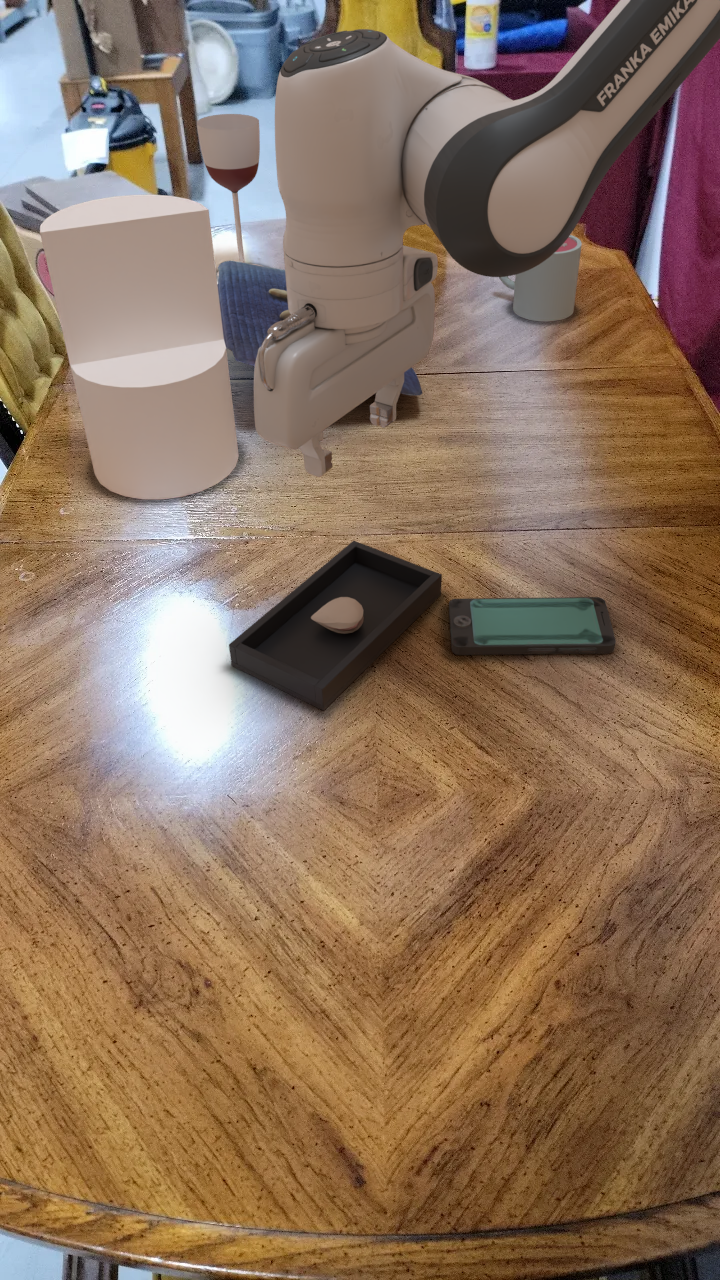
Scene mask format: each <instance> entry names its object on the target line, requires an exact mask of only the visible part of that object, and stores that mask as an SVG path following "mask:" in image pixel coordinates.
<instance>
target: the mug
mask: <svg viewBox="0 0 720 1280" xmlns="http://www.w3.org/2000/svg"><path fill="white" fill-rule="evenodd" d="M582 244H583V242H582V241H581V239H580V238H578V237H577V236H575V235H572V234H570V236H569V237H568V238H567V240H566V241H565V242H564V243H563V244H562V246H561V247H560V248H559V249H558V250H557V251H556V252H555V253H554V254H553V255H551V256H550V257H549V258H548V259H546V260H545V261H544V262H542V263H541V264H539V265H537V266H536V267H534V268H532V269H530V270H528V271H525V272H523V273H520V274H516V275H514V277H515V278H514V280H512V279H511V278H509V276H506V277H498V278H499V280H500V281H501V283H502V284H503V285H504V286H505V287H506V288H508V289H511V290H514V291H513V300H512V301H513V302H512V303H513V304H512V311H513V313H514V314H515V315H517V316H518V317H520V318H522V319H526V320H529V321H533V322H545V323H547V322H557V321H562V320H565V319H567V318H569V317H571V316H572V315H573V314H574V312H575V305H576V304H575V303H576V295H577V287H578V277H579V269H580V261H581V255H582V254H581V253H582Z"/></svg>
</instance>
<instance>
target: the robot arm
mask: <svg viewBox="0 0 720 1280" xmlns="http://www.w3.org/2000/svg"><path fill="white" fill-rule="evenodd" d="M719 40H720V0H619V1H618V2H617V3H616V4H615V6H614V7H613V8H612V9H611V10H610V12H609V13H608V14H607V15H606V16H605V17H604V19H603V20H602V21H601V22H600V23H599V25H597V27H596V28H595V29H594V30H593V32H592V33H591V34H590V35H589V37H588V38H587V39H586V40H585V41H584V43H583V44H582V45H581V46H580V47H579V48H578V49H577V51H576V52H575V53H574V54H573V55H572V57H571V58H569V60H568V61H567V62H566V64H565V65H564V66H563V67H562V68H561V70H560V71H559V72H558V73H557V74H556V75H555V77H554V78H552V79H551V81H550V82H549V83H548V84H546V85H545V86H543V88H541V89H539V90H538V91H536V92H534V93H532V94H530V95H528V96H525V97H521V98H519V99H511V98H510V97H508V96H506V94H504V93H503V92H502V91H500V90H498V89H497V88H495V87H492V86H491V85H489V84H487V83H485V82H483V81H480V80H479V79H477V78H474V77H471V76H469V75H465V74H460V73H457V72H453V71H449V70H446V69H442V68H441V67H437V66H435V65H433V64H431V63H429V62H426V61H424V60H422V59H421V58H419V57H417V56H415V55H413V54H411V53H410V52H409V51H406V50H405V49H404V48H402V47H400V46H399V45H397V44H396V43H395V42H394V41H393V40H391V39H390V37H389V36H388V35H387V34H385V33H384V32H382V31H380V30H374V29H368V28H367V29H366V28H358V29H353V30H340V31H337V32H336V31H335V32H332V33H329V34H324V35H322V36H319V37H317V38H314V39H312V40H309V41H307V42H305V43H304V44H302V45H300V47H298V48H297V49H295V50H294V51H292V52H291V53H290V54H289V56H288V57H287V58H286V59H285V61H284V62H283V64H282V66H281V68H280V70H279V73H278V76H277V82H276V87H275V97H274V99H275V100H274V147H275V148H274V151H275V164H276V165H275V166H276V178H277V187H278V191H279V194H280V197H281V199H282V202H283V207H284V211H285V228H284V233H283V238H282V251H283V262H284V270H285V276H286V287H287V299H288V309H289V312H290V314H291V315H290V316H289V317H288V318H286V319H285V320H283V321H279V322H276V323H275V324H273V325H272V326H271V327H270V328H269V329H268V331H267V334H268V335H267V337H266V338H265V340H264V341H263V343H262V346H261V347H260V348H259V349H258V354H257V357H256V362H255V366H254V370H253V415H254V426H255V427H254V428H255V431H256V433H257V434H258V435H259V437H260V438H262V439H263V441H266V442H267V443H270V444H273V445H275V446H279V447H282V448H284V449H285V448H286V449H288V450H299V451H300V453H301V454H302V455H303V463H304V470H305V472H306V473H307V474H309V475H312V476H314V477H317V478H321V477H322V476H324V475H325V474H326V473H328V472H329V471H330V470H331V469H332V468H333V462H332V460H333V452H332V451H331V450H328V449H327V448H326V449H324V448H323V447H322V446H321V444H320V442H322V441H323V440H324V430H326V429H327V428H329V427H330V426H331V425H333V424H334V423H336V422H337V421H338V420H340V419H341V418H343V417H344V416H346V415H347V414H348V413H350V412H351V411H353V410H354V409H355V408H356V407H358V406H360V405H361V404H362V403H364V402H365V401H367V400H368V399H369V398H370V397H372V396H373V395H375V396H374V397H375V398H374V402H373V403H371V404H370V405H369V413H370V415H369V420H370V422H371V424H372V425H374V426H377V427H378V426H379V427H380V428H383V429H385V428H387V427H388V426H389V425H391V424H392V423H394V422H395V421H396V419H397V403H398V401H399V398H400V395H401V393H400V392H401V389H402V386H403V383H404V372H406V371H407V370H408V369H410V368H411V367H412V368H413V367H414V366H415V365H417V364H419V363H420V362H422V361H423V360H424V359H426V358H427V356H428V354H429V352H430V349H431V347H432V345H433V341H434V334H435V319H436V317H435V316H436V315H435V314H436V296H435V295H436V292H435V287H434V284H433V283H432V282H434V281H435V280H436V278H437V276H438V270H439V268H438V267H439V259H438V255H437V254H436V253H434V252H432V251H428V250H424V249H420V248H415V247H412V246H407V245H404V235H405V233H406V231H408V229H410V228H411V227H414V226H416V227H417V226H425V225H426V226H427V227H428V228H429V229H430V230H431V231H432V232H433V234H434V235H435V236H436V238H437V239H438V240H439V242H440V243H441V244H442V246H443V247H444V249H445V250H446V252H447V253H448V254H449V256H450V257H451V258H452V259H453V261H455V262H456V263H457V264H458V265H459V266H461V267H462V268H464V269H465V270H467V271H469V272H471V273H474V274H476V275H479V276H483V277H489V278H499V277H506V276H508V277H512V276H516V274H520V273H523V272H525V271H528V270H530V269H532V268H534V267H536V266H537V265H539V264H541V263H542V262H544V261H545V260H546V259H548V258H549V257H550V256H551V255H553V254H554V253H555V252H556V251H557V250H558V249H559V248H560V247H561V246H562V244H563V243H564V242H565V241H566V240H567V238H568V237H569V236H570V235H572V233H573V232H574V230H575V228H576V227H577V226H578V223H579V222H580V220H581V219H582V216H583V214H584V213H585V211H586V209H587V207H588V205H589V203H590V201H591V200H592V198H593V196H594V194H595V192H596V191H597V189H598V187H599V185H600V184H601V182H602V181H603V179H604V178H605V176H606V175H607V173H608V172H609V170H610V169H611V168H612V166H613V165H614V163H615V162H616V161H617V160H618V159H619V157H620V156H621V155H622V153H623V152H624V151H625V150H626V149H627V148H628V147H629V145H630V144H631V143H632V142H633V140H635V138H636V137H638V135H639V134H640V132H641V131H642V130H643V129H644V128H645V127H646V126H647V125H648V123H649V122H650V121H651V120H652V119H653V118H654V116H655V115H656V114H657V113H658V111H660V109H661V108H662V107H663V106H664V105H665V103H667V102H668V100H669V99H670V98H671V97H672V95H673V94H675V92H676V91H677V90H678V88H679V87H680V86H681V85H682V84H683V83H684V81H685V80H686V79H687V78H688V77H689V76H690V75H691V73H693V71H694V70H695V69H696V67H698V65H699V64H701V62H702V61H703V59H705V57H706V56H707V55H708V53H710V51H711V50H712V49H713V47H714V46H716V44H717V43H718V42H719Z"/></svg>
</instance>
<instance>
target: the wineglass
mask: <svg viewBox="0 0 720 1280" xmlns="http://www.w3.org/2000/svg"><path fill="white" fill-rule="evenodd" d="M196 129H197V136H198V141H199V146H200V147H199V148H200V152H201V155H202V159H203V163H204V166H205V168H206V171H207V173H208V176H209V177H210V178H211V179H212V180H213V181H214V183H216V184H218V185H219V186H221V187H223V188H225V189H227V190H228V191H229V192H231V195H232V206H233V207H232V208H233V215H234V223H235V224H234V226H235V234H236V235H235V236H236V245H237V255H238V262H243V263H245V255H244V243H243V233H242V224H241V215H240V204H239V193H238V192H239V191H240V190H243V188H245V187H247V186H248V185H249V184H251V183H252V182H253V180H255V178H256V176H257V173H258V170H259V165H260V153H261V151H260V150H261V146H260V145H261V144H260V142H261V141H260V139H261V137H260V135H261V134H260V120H259V118H257V117H255V116H253V115H248V114H243V113H223V114H222V113H221V114H212V115H209V116H204V117H201V118H199V119H198V120H196ZM252 264H253V265H259V266H262V264H257V263H252ZM216 277H217V278H218V277H219V270H218V271H217V272H216Z"/></svg>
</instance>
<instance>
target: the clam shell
mask: <svg viewBox="0 0 720 1280" xmlns="http://www.w3.org/2000/svg"><path fill="white" fill-rule="evenodd" d="M311 619H312V620H314V621H315V622H317V623H319V624H320V625H322V626H324V627H325V628H327V629H329V630H331V631H334V632H337V633H343V634H347V633H352V632H354V631H356V630H358V629H359V628H360V627H361V625H362V623H363V619H364V617H363V608H362V605H361V604H360V603H359V602H358V601H356V600H355V599H352V598H349V597H340V598H336V599H334V600H332V601H330V602H328V603H327V604H326V605H324V606H323V607H322V608H320V609H319V610H318V611H317V612H316V613H315V614H313V615H312V616H311Z"/></svg>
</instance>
